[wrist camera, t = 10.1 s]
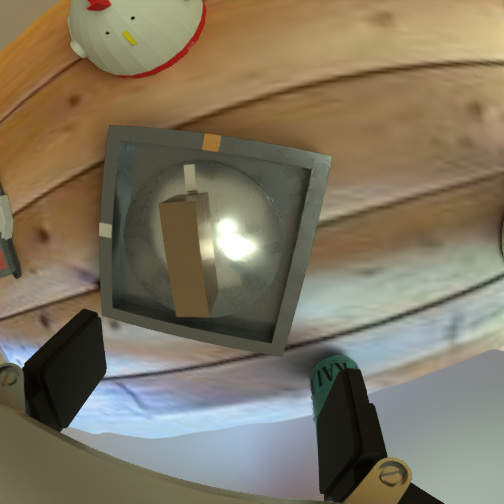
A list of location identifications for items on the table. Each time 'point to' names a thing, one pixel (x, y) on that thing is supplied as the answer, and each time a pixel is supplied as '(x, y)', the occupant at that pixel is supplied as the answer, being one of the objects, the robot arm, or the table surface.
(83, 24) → the kitchen timer
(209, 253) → the dial
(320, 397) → the beverage bottle
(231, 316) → the dial housing
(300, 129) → the table surface
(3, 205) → the walkie-talkie
